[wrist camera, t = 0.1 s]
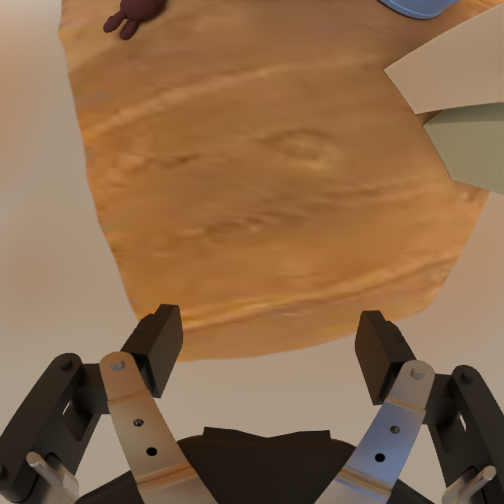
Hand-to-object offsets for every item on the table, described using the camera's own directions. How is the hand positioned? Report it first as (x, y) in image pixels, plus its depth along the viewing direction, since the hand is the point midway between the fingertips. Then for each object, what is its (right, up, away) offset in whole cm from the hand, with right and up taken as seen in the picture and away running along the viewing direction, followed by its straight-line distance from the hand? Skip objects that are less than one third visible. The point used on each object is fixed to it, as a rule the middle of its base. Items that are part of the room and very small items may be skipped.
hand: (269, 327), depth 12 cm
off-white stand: (+24, +29, +19) cm, 43 cm away
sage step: (+31, +21, +22) cm, 43 cm away
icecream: (-16, +41, +18) cm, 48 cm away
